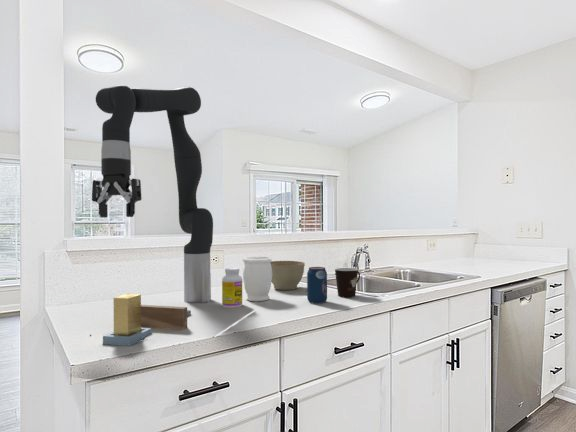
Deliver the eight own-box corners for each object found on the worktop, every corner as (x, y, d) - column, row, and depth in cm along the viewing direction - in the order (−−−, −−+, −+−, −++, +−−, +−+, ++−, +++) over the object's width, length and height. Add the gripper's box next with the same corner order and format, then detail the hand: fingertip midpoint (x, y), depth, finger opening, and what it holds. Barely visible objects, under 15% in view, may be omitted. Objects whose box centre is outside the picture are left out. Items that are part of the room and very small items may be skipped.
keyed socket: (126, 333, 103) (126, 326, 103) (151, 335, 101) (151, 328, 101) (102, 343, 94) (102, 335, 94) (130, 345, 92) (130, 338, 92)
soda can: (328, 304, 136) (327, 268, 136) (307, 304, 136) (307, 269, 136) (326, 300, 143) (325, 266, 143) (306, 300, 143) (306, 266, 143)
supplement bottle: (235, 310, 128) (235, 270, 128) (218, 308, 131) (217, 269, 131) (246, 305, 134) (245, 267, 134) (229, 304, 137) (229, 266, 137)
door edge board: (122, 325, 111) (122, 303, 111) (187, 329, 106) (187, 307, 106) (117, 327, 109) (117, 305, 109) (183, 331, 104) (183, 308, 104)
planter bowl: (284, 293, 156) (284, 265, 156) (258, 288, 167) (258, 262, 168) (313, 288, 166) (312, 262, 167) (287, 283, 178) (286, 259, 178)
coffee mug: (340, 298, 144) (340, 271, 144) (331, 294, 153) (331, 268, 153) (369, 296, 148) (369, 269, 148) (359, 292, 156) (358, 267, 156)
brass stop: (127, 333, 100) (127, 293, 101) (141, 334, 99) (140, 294, 99) (113, 339, 96) (113, 297, 96) (128, 340, 95) (127, 298, 95)
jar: (238, 301, 142) (238, 259, 142) (250, 295, 151) (249, 256, 152) (265, 303, 138) (265, 259, 138) (276, 297, 148) (276, 257, 148)
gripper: (146, 159, 112) (147, 217, 112) (104, 161, 116) (104, 217, 116) (129, 155, 105) (130, 217, 105) (84, 158, 109) (85, 217, 108)
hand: (116, 217), depth 110 cm, fingers open, 8 cm apart
